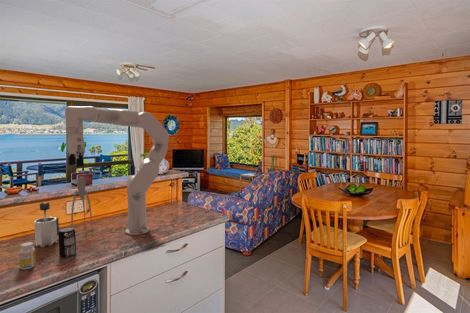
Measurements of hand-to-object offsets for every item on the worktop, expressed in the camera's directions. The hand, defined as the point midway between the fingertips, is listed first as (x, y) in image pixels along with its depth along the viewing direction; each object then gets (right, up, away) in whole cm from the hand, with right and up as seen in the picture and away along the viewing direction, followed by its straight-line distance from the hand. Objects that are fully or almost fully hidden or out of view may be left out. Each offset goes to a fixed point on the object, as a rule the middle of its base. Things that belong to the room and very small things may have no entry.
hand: (76, 165), depth 146 cm
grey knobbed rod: (-13, -36, -3) cm, 39 cm away
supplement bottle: (-5, -41, -26) cm, 49 cm away
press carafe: (-13, -38, -1) cm, 41 cm away
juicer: (-6, -37, +20) cm, 42 cm away
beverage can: (+5, -40, -15) cm, 43 cm away
